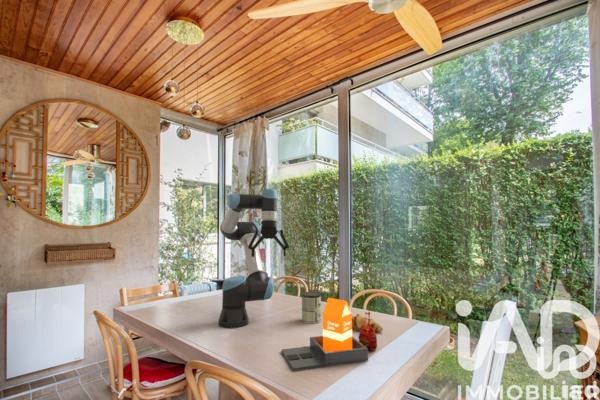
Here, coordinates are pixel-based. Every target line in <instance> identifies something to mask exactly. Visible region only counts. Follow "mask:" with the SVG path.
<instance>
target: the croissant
mask: <svg viewBox="0 0 600 400" xmlns="http://www.w3.org/2000/svg"><path fill="white" fill-rule="evenodd" d="M368 319H369V317H367V316H366V315H364V314H360V313H359V314H358V313H357V314H356V315H352V330H354V331H359V332H360V331H361V329H362V326H363V325H365V326H367V325H368V322H370V326H371V327H373V329H374V331H375V333H379V332H383V331H384V328H383V327H382V326H381V325H380V324H379V323H377V322H376V321H375V320H374V319H372V318H370V321H369V320H368Z"/></svg>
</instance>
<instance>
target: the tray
mask: <svg viewBox="0 0 600 400" xmlns="http://www.w3.org/2000/svg"><path fill="white" fill-rule="evenodd" d="M281 354H282V356H283V357H284V359H285V360H286V362H287V364H288V365H289V367H290V369H291V370H292V372H298V371H305V370H313V369H320V368H325V367H334V366H339V365H349V364H354V363H362V362H368V361H369V351H368V348H367V347H366V346H364V345H363V344H362V343H360V342H359V340H358V339H356V338H355V337H354V336H352V349H348V350H340V351H332V352H326V351H325V350H324V349H323V335H317V336H310V337H309V346H308V345H307V346H302V347H299V346H298V347H292V348H291V347H290V348H284V349H281Z"/></svg>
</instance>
